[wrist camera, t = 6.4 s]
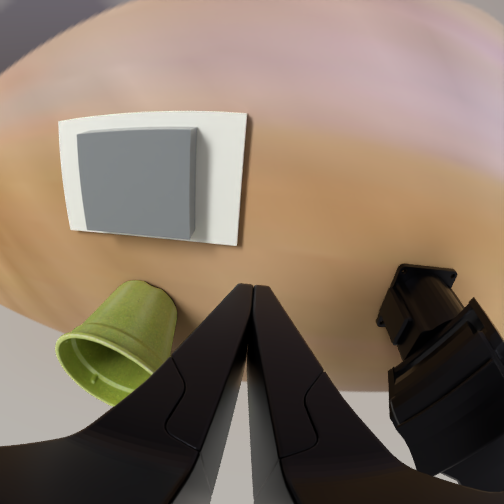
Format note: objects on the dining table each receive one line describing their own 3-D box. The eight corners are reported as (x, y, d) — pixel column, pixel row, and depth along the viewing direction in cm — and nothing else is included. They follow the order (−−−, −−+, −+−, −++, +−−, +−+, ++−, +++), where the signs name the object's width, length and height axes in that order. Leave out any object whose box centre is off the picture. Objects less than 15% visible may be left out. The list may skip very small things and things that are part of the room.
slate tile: (190, 129, 15) (76, 134, 15) (189, 239, 18) (87, 230, 18) (197, 126, 16) (89, 130, 16) (195, 229, 20) (97, 220, 20)
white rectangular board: (247, 113, 16) (246, 113, 16) (237, 241, 21) (236, 245, 20) (63, 120, 16) (58, 121, 16) (74, 226, 21) (70, 229, 20)
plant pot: (136, 347, 28) (109, 413, 20) (84, 277, 23) (35, 341, 16) (213, 333, 25) (195, 414, 18) (160, 248, 21) (112, 326, 14)
